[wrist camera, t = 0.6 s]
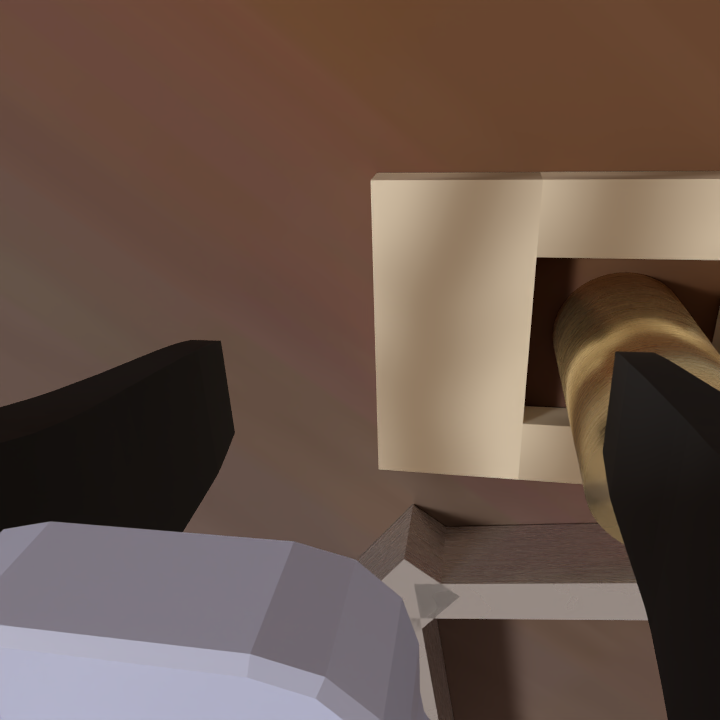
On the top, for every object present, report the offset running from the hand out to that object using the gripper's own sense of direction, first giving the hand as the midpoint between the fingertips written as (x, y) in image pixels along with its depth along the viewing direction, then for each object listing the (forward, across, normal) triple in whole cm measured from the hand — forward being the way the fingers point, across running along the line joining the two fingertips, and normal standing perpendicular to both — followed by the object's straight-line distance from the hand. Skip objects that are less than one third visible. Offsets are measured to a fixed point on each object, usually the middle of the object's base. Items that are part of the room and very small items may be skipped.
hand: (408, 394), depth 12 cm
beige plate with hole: (+10, -6, +3) cm, 11 cm away
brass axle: (+10, -6, +3) cm, 11 cm away
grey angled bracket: (+10, -1, +14) cm, 17 cm away
